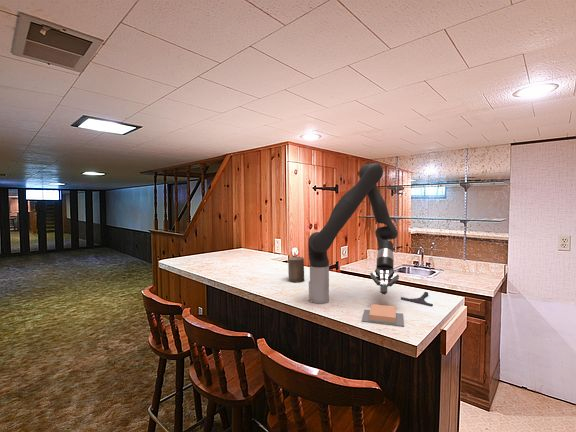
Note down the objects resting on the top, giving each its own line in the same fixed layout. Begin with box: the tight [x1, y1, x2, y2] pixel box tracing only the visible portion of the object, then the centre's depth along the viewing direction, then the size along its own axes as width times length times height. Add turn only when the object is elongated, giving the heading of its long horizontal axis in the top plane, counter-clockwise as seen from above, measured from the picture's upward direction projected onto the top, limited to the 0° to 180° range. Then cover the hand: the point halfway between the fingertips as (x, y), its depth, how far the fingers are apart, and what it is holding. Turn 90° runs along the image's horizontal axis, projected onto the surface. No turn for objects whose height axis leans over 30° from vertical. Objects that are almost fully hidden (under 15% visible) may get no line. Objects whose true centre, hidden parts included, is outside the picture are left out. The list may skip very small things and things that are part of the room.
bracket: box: [400, 291, 434, 308], centre depth 147 cm, size 14×15×3 cm
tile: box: [369, 303, 397, 324], centre depth 125 cm, size 10×2×13 cm
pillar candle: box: [287, 256, 305, 283], centre depth 183 cm, size 10×10×15 cm
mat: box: [361, 309, 405, 328], centre depth 124 cm, size 16×13×1 cm
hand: (383, 293), depth 131 cm, fingers closed
